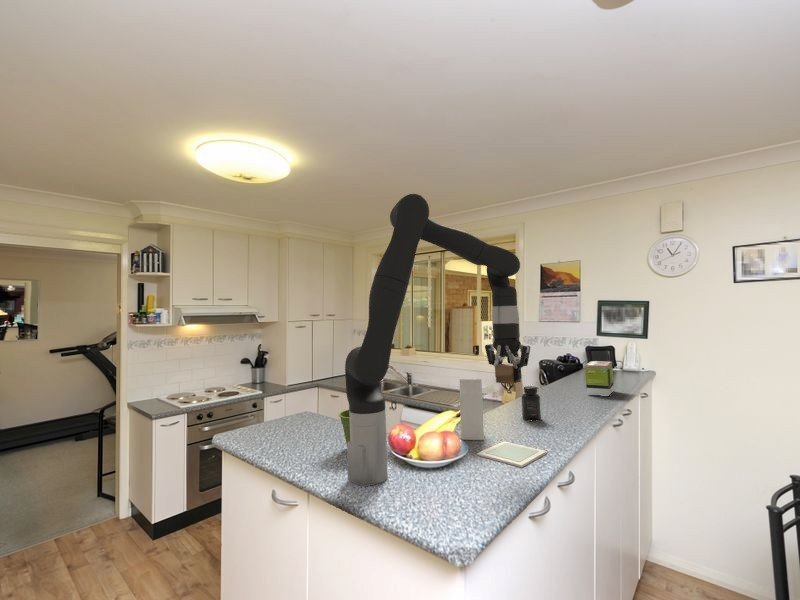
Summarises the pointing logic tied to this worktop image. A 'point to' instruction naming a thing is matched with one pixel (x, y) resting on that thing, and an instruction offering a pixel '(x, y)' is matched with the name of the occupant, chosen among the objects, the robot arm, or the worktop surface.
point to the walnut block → (505, 373)
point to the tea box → (599, 377)
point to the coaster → (512, 453)
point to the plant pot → (345, 423)
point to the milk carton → (471, 409)
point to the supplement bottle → (531, 404)
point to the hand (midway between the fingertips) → (508, 380)
